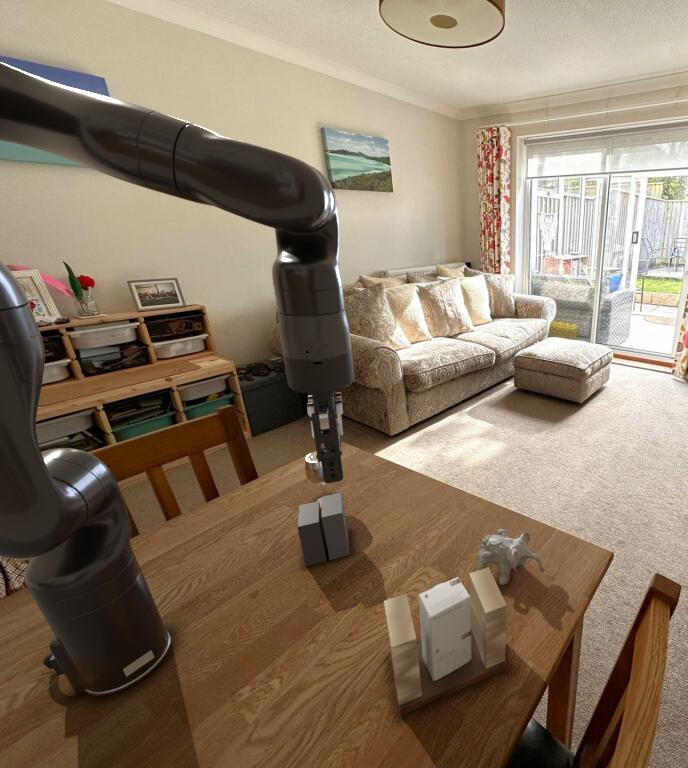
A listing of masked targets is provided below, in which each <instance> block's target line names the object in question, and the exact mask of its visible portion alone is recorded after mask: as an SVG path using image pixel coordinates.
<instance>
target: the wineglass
mask: <svg viewBox="0 0 688 768" xmlns="http://www.w3.org/2000/svg"><path fill="white" fill-rule="evenodd" d="M316 455H317V451H313V452H310V453H309V454H307V455H306V457H305V459H304V472H305V476H306V478H307V481H309V482H310V483H311V484H315V485H316V484H317V485H318V484H320V485H319V486H320V488H321V490H322V495H323V496H328V495H329V494H328V495H327V494H326V493H327V492H326V483H325V482H324V477H323V470H322V464H321V462H318V459H316ZM323 496H321V497H319V498H317V499H316V501H315V502H317V501H319V502H320V507H321V509H322V497H323Z"/></svg>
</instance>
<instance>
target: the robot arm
mask: <svg viewBox="0 0 688 768" xmlns="http://www.w3.org/2000/svg"><path fill="white" fill-rule="evenodd" d="M0 142H6V143H12V144H15V145H21V146H25V147H28V148H32V149H35V150H39V151H42V152H46V153H50V154H52V155H56V156H59V157H61V158H65V159H67V160H70V161H72V162H74V163H77V164H80V165H82V166H85V167H88V168H90V169H92V170H95V171H97V172H99V173H101V174H104V175H107V176H109V177H112V178H114V179H117V180H120V181H123V182H126V183H129V184H132V185H134V186H138V187H142V188H145V189H148V190H150V191H153V192H158V193H161V194H165V195H169V196H171V197H174V198H177V199H178V198H179V199H181V200H186V201H188V202H192V203H196V204H200V205H205V206H210V207H215V208H217V209H220V210H222V211H225V212H227V213H230V214H232V215H234V216H238V217H240V218H243V219H245V220H248V221H251V222H254V223H256V224H258V225H259V224H260V225H262V226H266V227H269V228H272V229H274V233H275V234H274V235H275V242H276V251H277V252H276V258H275V260H274V261H273V263H272V266H271V267H272V268H271V277H272V278H271V279H272V284H273V285H272V287H273V292H274V297H275V303H276V304H275V305H276V309H277V316H278V317H277V318H278V335H279V341H280V346H281V353H282V359H283V364H284V371H285V375H286V382H287V386H288V388H289V389H290V390H292V391H293V392H296V393H299V394H307V403H306V409H307V410H306V411H307V415H308V417H309V419H310V427H311V437H312V438H313V439H314V444H315V450H316V451H317V455H316V459H318V462H321V464H322V470H323V477H324V482H325V484H331V483H338V482H341V481H343V479H344V471H343V463H342V456H343V448H341V447H342V438H341V437H343V436H344V429H343V418H342V415H343V413H344V408H343V395H342V392H341V391H340V390H344V389H346V388H348V387H349V386H350V385H351V384H353V383H354V381H355V369H354V360H353V352H352V350H353V349H352V342H351V333H350V326H349V322H348V318H347V314H346V309H345V300H344V299H345V297H344V290H343V289H344V288H343V283H342V281H343V280H342V277H341V269H340V263H339V254H340V227H339V211H338V202H337V197H336V194H335V191H334V190H335V189H334V188H333V185H332V184H331V182H330V181H329V179H328V178H327V177H326V175H324V174H323V173H322V172H321V171H320V170H319V169H317V168H316V167H314V166H312V165H310V163H309V164H308V163H307V162H305V161H304V160H302V159H300V158H297V157H295V156H291V155H289V154H286V153H283V152H281V151H280V152H279V151H277V150H274V149H269V148H266V147H263V146H259V145H256V144H253V143H249V142H245V141H242V140H238V139H233V138H229V137H225V136H222V135H221V134H219V133H217V132H215V131H212V130H210V129H208V128H206V127H202V126H201V125H197V124H194V123H192V122H189V121H187V120H183V119H181V118H177V117H175V116H172V115H169V114H166V113H163V112H160V111H158V110H154V109H152V108H150V107H149V108H148V107H145V106H143V105H140V104H136V103H133V102H131V101H130V102H129V101H126V100H123V99H119V98H114V97H111V96H108V95H104V94H101V93H96V92H92V91H88V90H83V89H81V88H80V89H79V88H77V87H76V88H75V87H71V86H68V85H64V84H61V83H57V82H54V81H51V80H48V79H46V78H43V77H40V76H37V75H34V74H32V73H29V72H27V71H24V70H21V69H20V68H17V67H15V66H12V65H11V64H10V65H9V64H7V63H5V62H2V61H0ZM44 344H45V343H44V341H43V336H42V334H41V331H40V329H39V326H38V323H37V320H36V318H35V315H34V312H33V310H32V307H31V304H30V303H29V299H28V297H27V294H26V292H25V290H24V288H23V286H22V284H21V283H20V282H19V280H18V278H16V276H15V275H14V274H13V272H12V271H11V270H10V269H9V267H7V266H6V264H4V263H3V261H2V260H0V557H2V558H8V559H16V560H23V559H25V560H26V559H30V560H29V562H28V564H27V566H26V568H25V572H24V574H23V575H24V576H23V577H24V578H23V579H24V584H25V586H26V588H27V590H28V591H29V594H30V595H31V597H32V598H33V600H34V602H35V603H36V605H37V607H38V609H39V611H40V612H41V614H42V616H43V617H44V619H45V621H46V623H47V624H48V626H49V627H50V630H51V631H52V633H53V635H54V636H53V638H52V639H51V641H50V643H49V644H48V649H49V651H50V652H51V653H49V654H48V655H46V656H45V657H44V658H43V662H42V664H43V665H44V666H45V667H46V668H47V669H49V670H53V671H54V672H55V674H56V676H61V675H64V676H65V677H66V679H67V680H68V682H69V684H70V685H71V687H72V689H73V691H74V693H75V694H76V695H77V696H80V695H83V694H88V695H89V696H90V695H91V696H93V697H104V696H110V695H113V694H114V695H115V694H117V693H119V692H122V691H124V690H126V689H128V688H130V687H133V686H135V685H136V684H137V683H139V682H141V681H142V680H143V679H145V678H146V677H148V676H149V675H150V674H151V673H152V672H154V671H155V670H156V669H157V668H158V667H159V665H160V664H161V663H162V662H163V661H164V659H166V656H167V655H168V653H169V651H170V649H171V646H172V637H171V634H170V633H169V631H168V629H167V627H166V625H165V623H164V621H163V618H162V615H161V613H160V611H159V608H158V606H157V604H156V601H155V600H154V597H153V595H152V592H151V589H150V586H149V585H148V582H147V581H146V577H145V574H144V573H143V571H142V568H141V566H140V563H139V562H138V559H137V557H136V555H135V552H134V549H133V547H132V544H131V537H132V529H133V528H132V523H131V519H130V516H129V513H128V510H127V505H126V503H125V501H124V497H123V494H122V491H121V489H120V485H119V483H118V481H117V479H116V477H115V475H114V473H113V472H112V470H111V469H110V467H108V465H107V464H106V463H105V462H104V461H103V460H101V459H100V458H99V457H97V456H95V455H94V454H92V453H90V452H87V451H86V450H81V449H77V448H72V447H58V448H51V449H46V450H43V451H42V450H41V448H40V445H39V440H38V435H37V415H38V408H39V402H40V398H41V391H42V385H43V379H44V373H45V363H46V361H45V360H46V353H45V351H46V350H45V345H44ZM337 391H339V392H337ZM323 445H324V446H323ZM316 451H315V452H316Z"/></svg>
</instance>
